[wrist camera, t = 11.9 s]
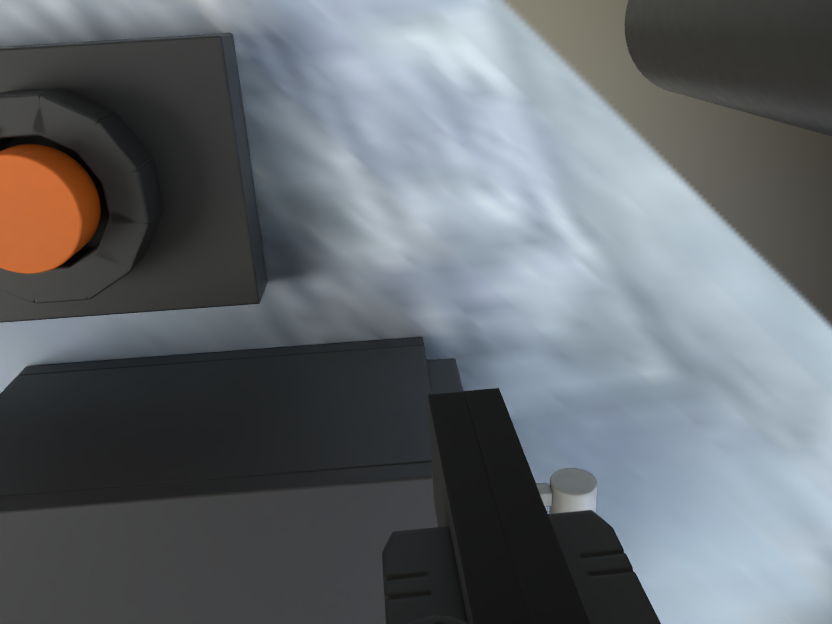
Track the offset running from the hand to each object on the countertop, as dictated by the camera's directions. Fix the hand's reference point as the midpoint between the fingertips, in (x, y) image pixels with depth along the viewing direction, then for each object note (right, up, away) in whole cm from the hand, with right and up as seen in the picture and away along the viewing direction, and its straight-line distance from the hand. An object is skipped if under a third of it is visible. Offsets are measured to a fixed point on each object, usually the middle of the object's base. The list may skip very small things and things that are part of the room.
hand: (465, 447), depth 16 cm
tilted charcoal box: (-8, -5, +16) cm, 19 cm away
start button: (-13, +6, +7) cm, 16 cm away
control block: (-13, +8, +11) cm, 18 cm away
